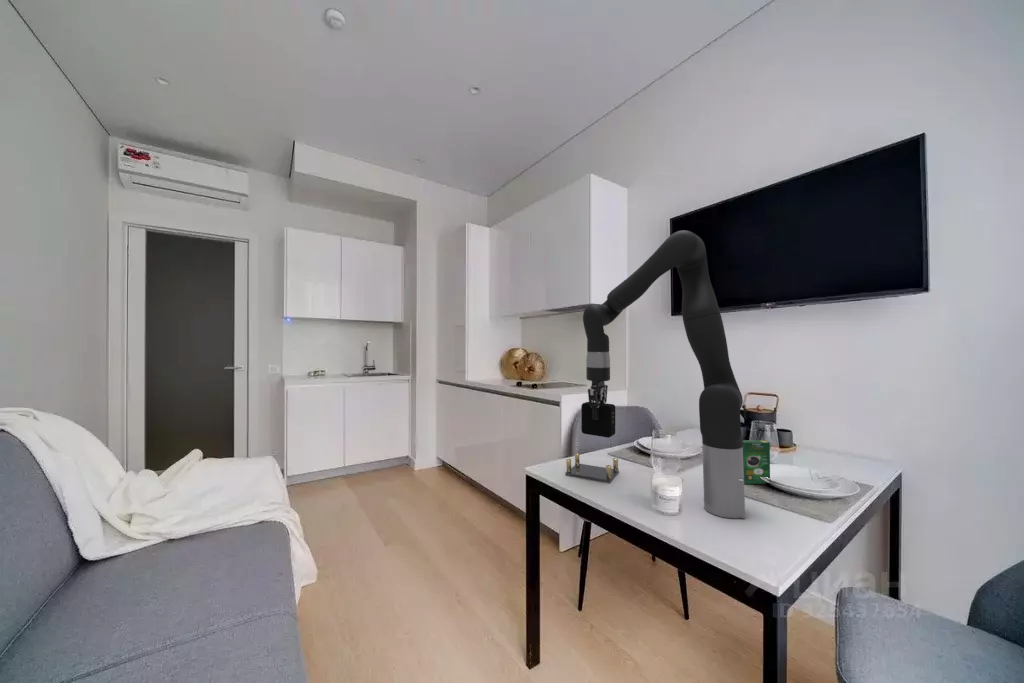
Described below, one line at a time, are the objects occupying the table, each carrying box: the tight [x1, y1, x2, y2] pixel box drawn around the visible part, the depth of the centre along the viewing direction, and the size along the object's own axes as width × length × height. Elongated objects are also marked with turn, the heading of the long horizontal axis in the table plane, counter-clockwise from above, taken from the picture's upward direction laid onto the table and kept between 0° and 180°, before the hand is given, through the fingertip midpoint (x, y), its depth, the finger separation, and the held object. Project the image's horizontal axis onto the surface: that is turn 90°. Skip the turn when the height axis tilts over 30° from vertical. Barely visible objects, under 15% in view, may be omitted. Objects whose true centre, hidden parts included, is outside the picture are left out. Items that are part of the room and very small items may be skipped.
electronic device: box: [580, 401, 616, 438], centre depth 119 cm, size 4×10×10 cm, turn 54°
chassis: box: [565, 452, 620, 484], centre depth 124 cm, size 15×11×5 cm
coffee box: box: [743, 439, 771, 485], centre depth 114 cm, size 8×3×13 cm, turn 87°
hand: (598, 417), depth 119 cm, fingers closed on electronic device, 4 cm apart
